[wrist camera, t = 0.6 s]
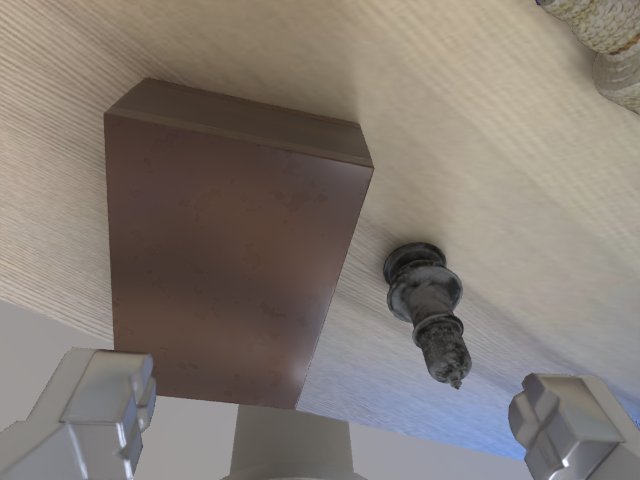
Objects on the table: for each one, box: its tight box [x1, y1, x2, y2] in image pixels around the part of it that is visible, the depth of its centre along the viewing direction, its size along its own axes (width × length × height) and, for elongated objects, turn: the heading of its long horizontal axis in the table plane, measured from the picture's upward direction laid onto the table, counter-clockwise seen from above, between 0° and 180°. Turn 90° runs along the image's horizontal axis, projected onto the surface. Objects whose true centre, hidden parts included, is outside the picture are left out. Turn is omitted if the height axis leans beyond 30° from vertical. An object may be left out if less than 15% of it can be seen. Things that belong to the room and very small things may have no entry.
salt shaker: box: [384, 243, 472, 389], centre depth 31 cm, size 6×6×12 cm
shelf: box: [104, 78, 375, 410], centre depth 31 cm, size 22×14×7 cm, turn 167°
